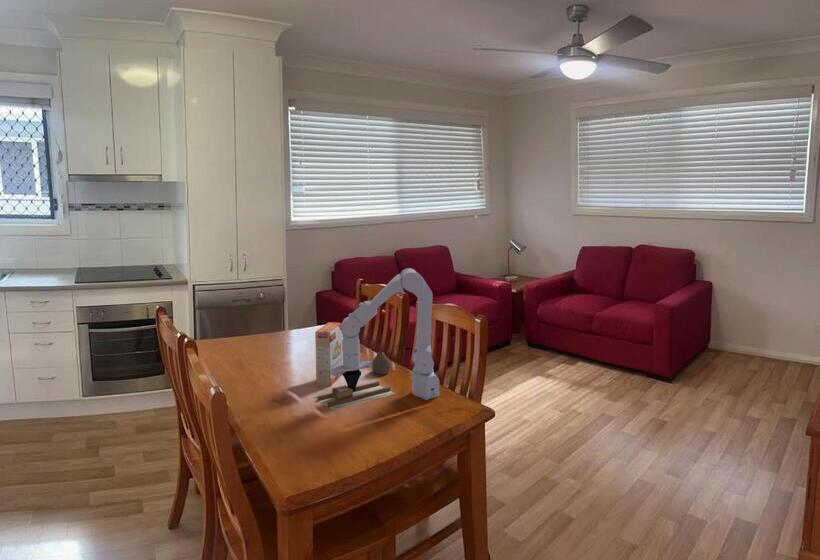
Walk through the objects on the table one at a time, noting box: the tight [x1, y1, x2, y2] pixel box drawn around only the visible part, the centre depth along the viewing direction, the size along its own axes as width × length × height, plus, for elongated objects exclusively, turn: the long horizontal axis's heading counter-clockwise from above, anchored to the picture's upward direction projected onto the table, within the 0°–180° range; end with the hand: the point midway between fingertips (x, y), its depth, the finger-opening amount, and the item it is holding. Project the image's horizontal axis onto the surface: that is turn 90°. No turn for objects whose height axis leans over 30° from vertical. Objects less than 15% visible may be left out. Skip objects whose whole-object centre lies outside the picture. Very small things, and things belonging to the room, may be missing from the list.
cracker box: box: [314, 321, 343, 387], centre depth 209 cm, size 14×6×21 cm, turn 168°
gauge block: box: [331, 384, 353, 401], centre depth 192 cm, size 5×5×4 cm
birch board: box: [313, 381, 396, 411], centre depth 195 cm, size 14×24×2 cm, turn 126°
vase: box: [371, 351, 391, 376], centre depth 217 cm, size 7×7×9 cm
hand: (351, 391), depth 194 cm, fingers closed
